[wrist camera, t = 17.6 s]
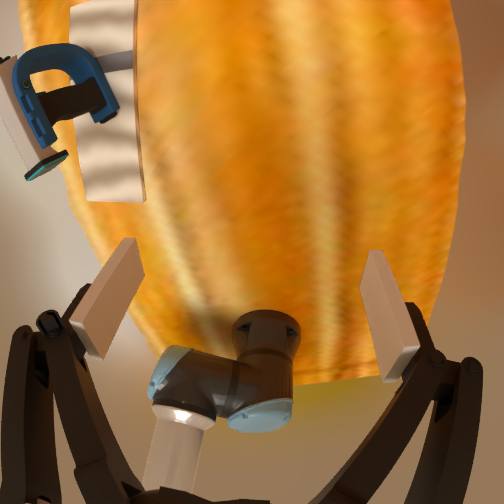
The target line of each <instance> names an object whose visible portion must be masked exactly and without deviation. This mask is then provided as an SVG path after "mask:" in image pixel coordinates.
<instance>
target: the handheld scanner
mask: <svg viewBox="0 0 504 504" xmlns="http://www.w3.org/2000/svg"><path fill="white" fill-rule="evenodd" d="M50 69H59V70H62V71H64V72H66V73H67V74H68V75H69V76H70V77H71V78H72V79H73V81H74V83H75V85H72V86H68V87H63V88H60V89H56V90H53V91H50V92H47V93H46V92H45V91H44V92H39V93H36V92H35V90H34V88H33V86H32V83H31V80H30V74H33V73H37V72H41V71H45V70H50ZM119 109H120V106H119V104H118V102H117V100H116V98H115V96H114V94H113V92H112V90H111V88H110V86H109V84H108V81H107V79H106V77H105V75H104V73H103V71H102V69H101V67H100V65H99V63H98V62H97V61H96V59H95V58H94V57H93V56H92V55H91V54H90V53H89V52H88V51H87V50H85V49H84V48H82V47H80V46H78V45H75V44H70V43H60V44H50V45H44V46H39V47H36V48H33V49H30V50H29V51H27V52H25V53H24V54H23V55H22V56H21V57H20V58H19V59H18V60H17V55H16V56H14V57H12V58H11V57H10V56H7V57H5V58H4V59H2V58H1V57H0V116H1V118H2V120H3V122H4V124H5V126H6V129H7V131H8V133H9V135H10V137H11V139H12V141H13V143H14V145H15V147H16V149H17V151H18V153H19V155H20V156H21V159H22V161H23V162H24V164H25V166H26V168H27V169H28V172H27V173H26V174H25V176H24V177H25V179H26V181H29V180H30V181H31V180H33V179H35V178H37V177H38V176H41V175H43V174H45V173H46V172H49V171H51V170H52V169H53V168H55V167H56V166H57V165H58V164H60V163H61V162H62V161H64V160H65V159H66V157H67V156H68V155H69V154H68V152H67V150H63V151H61V152H59V153H58V152H57V151H55V150H54V149H53V148H51V146H50V145H52V144H53V143H54V142H55V141H56V140H57V139H58V138H57V136H56V134H55V132H54V130H53V128H52V127H53V125H54V124H55V123H56V122H58V121H61V120H69V119H73V118H76V117H78V116H81V115H83V114H86V113H88V112H89V113H90V115H91V117H92V119H93V121H94V123H98V122H100V124H104V123H106V122H108V121H109V120H111V119H112V118H114V117H115V115H117V112H116V111H117V110H119Z"/></svg>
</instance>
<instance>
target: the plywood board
mask: <svg viewBox="0 0 504 504" xmlns="http://www.w3.org/2000/svg"><path fill="white" fill-rule="evenodd" d="M137 9H138V0H91V1H88V2H85V3H82V4H79V5H76V6H73V7H71V9H70V32H69V43H70V44H75V45H78V46H80V47H82V48H84V49H85V50H87V51H88V52H89V53H90V54H91V55H92V56H93V57H94V58H95V59H96V61H97V62H98V63H99V65H100V67H101V69H102V71H103V73H104V75H105V77H106V79H107V81H108V84H109V86H110V88H111V90H112V92H113V94H114V96H115V98H116V100H117V102H118V104H119V106H120V109H119V110H117V111H116V112H117V115H115V117H114V118H112V119H111V120H109V121H108V122H106V123H104V124H100V122H98V123H94V121H93V119H92V117H91V115H90V113H89V112H88V113H86V114H83V115H81V116H78V117H76V118H73V120H74V128H75V136H76V143H77V150H78V157H79V163H80V168H81V174H82V179H83V184H84V189H85V194H86V199H87V201H106V202H137V203H144V202H145V200H146V195H145V187H144V178H143V169H142V159H141V148H140V136H139V122H138V104H137V73H136V38H137ZM70 85H71V86H72V85H75V83H74V81H73V79H72V78H71V77H70Z"/></svg>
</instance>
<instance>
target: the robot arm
mask: <svg viewBox="0 0 504 504" xmlns="http://www.w3.org/2000/svg"><path fill="white" fill-rule="evenodd" d="M144 276H145V274H144V270H143V266H142V262H141V258H140V254H139V250H138V245H137V241H136V238H124V239H123V240H122V242H121V243H120V244H119V246H118V247H117V248H116V250H115V251H114V253H113V254H112V255H111V257H110V258H109V260H108V261H107V263H106V264H105V265H104V267H103V268H102V270H101V271H100V273H99V274H98V276H97V277H96V279H95V280H94V282H93V283H92V284H89V283H87V284H86V285H85V286H83V287H82V288H81V289H80V290H79V292H78V293H77V295H76V297H75V298H74V299H73V301H72V303H71V304H70V305H69V307H68V308H67V310H66V312H65V313H64V315H63V316H62V318H60V316H59V314H58V312H57V311H55V310H47V311H45V312H43V313H42V314H41V315H39V317H38V319H37V321H36V326H37V327H38V329H39V330H40V332H33V330H32V329H31V327H30V326H28V325H24V326H21V327H19V328H18V329H17V330H16V331H15V332H14V334H13V336H12V341H11V347H10V352H9V358H8V364H7V370H6V377H5V385H4V394H3V405H2V406H3V407H2V421H1V467H2V483H1V488H0V504H62V498H61V488H60V481H59V474H58V466H57V458H56V447H55V433H54V409H53V407H54V406H53V392H54V396H55V400H56V404H57V408H58V412H59V415H60V419H61V422H62V425H63V429H64V432H65V435H66V438H67V441H68V444H69V447H70V450H71V453H72V455H73V458H74V461H75V464H76V468H75V469H74V476H75V479H76V481H77V484H78V486H79V489H80V491H81V493H82V495H83V497H84V499H85V502H86V504H270V501H268V500H249V499H239V500H230V501H219V502H211V501H208V500H205V499H203V498H201V497H198V496H196V495H193V494H192V493H193V488H194V482H195V477H196V472H197V467H198V462H199V457H200V452H201V447H202V442H203V437H204V432H205V431H206V430H207V429H208V428H210V427H212V426H213V425H215V420H216V416H217V417H222V418H227V423H228V426H229V427H230V428H231V429H235V430H236V431H239V432H246V433H261V432H268V431H273V430H276V429H279V428H281V427H283V426H285V425H286V424H287V423H288V422H289V421H290V419H291V414H292V405H293V359H294V357H295V354H296V352H297V349H298V346H299V344H300V327H299V325H298V324H297V322H296V321H295V320H294V319H293V318H291V317H290V316H288V315H286V314H283V313H280V312H277V311H270V310H260V311H254V312H250V313H247V314H245V315H243V316H242V317H240V318H239V319H238V320H237V321H236V322H235V324H234V327H233V333H232V340H233V344H234V348H235V352H236V356H237V361H235V360H231V359H227V358H223V357H219V356H215V355H212V354H208V353H204V352H201V351H198V350H194V349H193V348H185V347H181V346H177V345H172V346H170V347H168V348H167V349H166V350H165V351H164V352H163V354H162V356H161V357H160V359H159V361H158V363H157V365H156V368H155V370H154V372H153V375H152V378H151V381H150V384H149V386H148V391H147V396H148V398H150V399H151V400H154V401H153V404H152V410H153V412H154V413H155V415H156V417H157V423H156V427H155V431H154V435H153V439H152V443H151V447H150V451H149V455H148V459H147V464H146V468H145V472H144V477H143V481H142V484H141V483H140V481H139V480H138V479H137V478H136V477H135V475H134V474H133V472H132V471H131V469H130V467H129V465H128V463H127V461H126V459H125V457H124V455H123V453H122V451H121V449H120V447H119V445H118V443H117V441H116V438H115V436H114V434H113V432H112V429H111V427H110V425H109V422H108V420H107V417H106V415H105V413H104V410H103V408H102V405H101V402H100V400H99V398H98V395H97V392H96V389H95V386H94V383H93V381H92V378H91V375H90V372H89V368H88V365H87V363H86V360H85V358H84V354H85V352H86V351H87V352H88V354H89V356H90V357H91V358H94V359H98V360H102V361H103V360H104V358H105V355H106V353H107V351H108V349H109V346H110V345H111V342H112V340H113V338H114V336H115V334H116V332H117V330H118V328H119V326H120V323H121V321H122V319H123V317H124V315H125V313H126V311H127V309H128V307H129V305H130V303H131V301H132V299H133V297H134V295H135V293H136V292H137V290H138V288H139V286H140V284H141V282H142V280H143V278H144ZM359 289H360V292H361V296H362V300H363V304H364V307H365V311H366V315H367V319H368V323H369V327H370V331H371V335H372V339H373V343H374V348H375V352H376V357H377V361H378V366H379V371H380V376H381V380H382V383H388V382H397V380H398V379H399V377H400V376H401V375H402V379H403V383H402V384H401V386H400V387H399V388H398V390H397V391H396V392H395V393H396V394H395V395H394V397H393V399H392V400H391V402H390V403H389V405H388V406H387V408H386V409H385V411H384V412H383V414H382V416H381V417H380V418H379V420H378V421H377V423H376V424H375V425H374V427H373V428H372V430H371V431H370V432H369V434H368V435H367V436H366V438H365V439H364V441H363V442H362V443H361V445H360V446H359V447H358V449H357V450H356V451H355V452H354V453H353V455H352V456H351V457H350V459H349V460H348V461H347V462H346V463H345V465H344V466H343V467H342V468H341V469H340V470H339V472H338V473H337V474H336V475H335V476H334V478H333V479H332V480H331V481H330V482H329V483H328V484H327V485H326V486H325V487H324V488H323V490H322V491H321V492H320V493H319V494H318V495H317V496H316V497H315V498H314V499H312V500H311V501H310V502H309V503H308V504H367V502H368V501H369V499H370V498H371V497H372V496H373V494H374V493H375V492H376V490H377V489H378V488H379V486H380V485H381V484H382V482H383V481H384V479H385V478H386V477H387V475H388V474H389V472H390V471H391V469H392V468H393V466H394V465H395V463H396V461H397V460H398V458H399V457H400V456H401V454H402V452H403V451H404V449H405V447H406V446H407V444H408V443H409V441H410V439H411V437H412V436H413V434H414V432H415V430H416V429H417V427H418V425H419V423H420V421H421V420H422V418H423V416H424V414H425V412H426V410H427V408H428V406H429V404H430V402H431V400H434V406H433V410H432V415H431V419H430V423H429V427H428V432H427V435H426V439H425V443H424V446H423V450H422V453H421V457H420V460H419V463H418V466H417V469H416V473H415V475H414V478H413V481H412V484H411V487H410V489H409V492H408V495H407V497H406V500H405V502H404V504H463V500H464V497H465V493H466V490H467V486H468V482H469V478H470V474H471V469H472V464H473V460H474V455H475V448H476V443H477V437H478V430H479V422H480V413H481V403H482V388H483V368H482V365H481V363H480V362H479V361H478V360H477V359H475V358H473V357H466V358H464V360H463V361H462V362H461V363H459V362H454V361H450V360H446V357H445V356H444V354H443V353H442V352H440V351H439V350H436V349H435V347H434V344H433V342H432V339H431V336H430V334H429V331H428V329H427V326H426V323H425V321H424V319H423V316H422V314H421V311H420V309H419V308H418V307H417V306H416V305H415V304H414V302H404V300H403V297H402V295H401V292H400V290H399V287H398V285H397V283H396V280H395V278H394V276H393V273H392V271H391V269H390V266H389V264H388V262H387V260H386V257H385V255H384V253H383V251H382V250H370V251H369V255H368V259H367V262H366V266H365V269H364V273H363V276H362V280H361V283H360V286H359Z"/></svg>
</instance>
